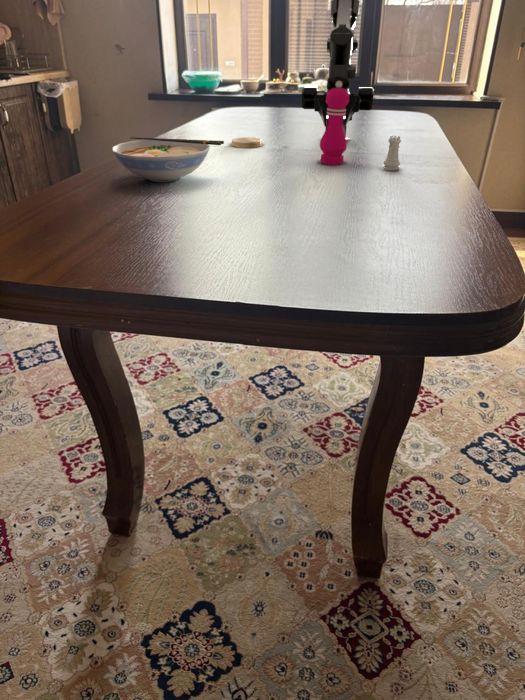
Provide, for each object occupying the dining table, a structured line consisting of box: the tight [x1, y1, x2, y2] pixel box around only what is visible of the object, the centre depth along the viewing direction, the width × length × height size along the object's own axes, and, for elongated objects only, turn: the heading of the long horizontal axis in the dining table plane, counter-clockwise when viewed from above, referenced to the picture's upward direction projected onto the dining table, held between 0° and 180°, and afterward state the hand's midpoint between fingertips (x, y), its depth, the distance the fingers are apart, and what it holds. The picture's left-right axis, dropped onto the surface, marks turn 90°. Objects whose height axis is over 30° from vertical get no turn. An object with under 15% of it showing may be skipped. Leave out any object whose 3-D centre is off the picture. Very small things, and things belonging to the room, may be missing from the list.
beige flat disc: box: [230, 136, 263, 149], centre depth 164 cm, size 10×10×2 cm
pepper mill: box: [319, 81, 350, 166], centre depth 137 cm, size 7×7×20 cm
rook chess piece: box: [382, 135, 402, 172], centre depth 134 cm, size 4×4×8 cm
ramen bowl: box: [111, 137, 225, 183], centre depth 124 cm, size 25×23×8 cm
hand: (335, 125), depth 137 cm, fingers closed on pepper mill, 5 cm apart
